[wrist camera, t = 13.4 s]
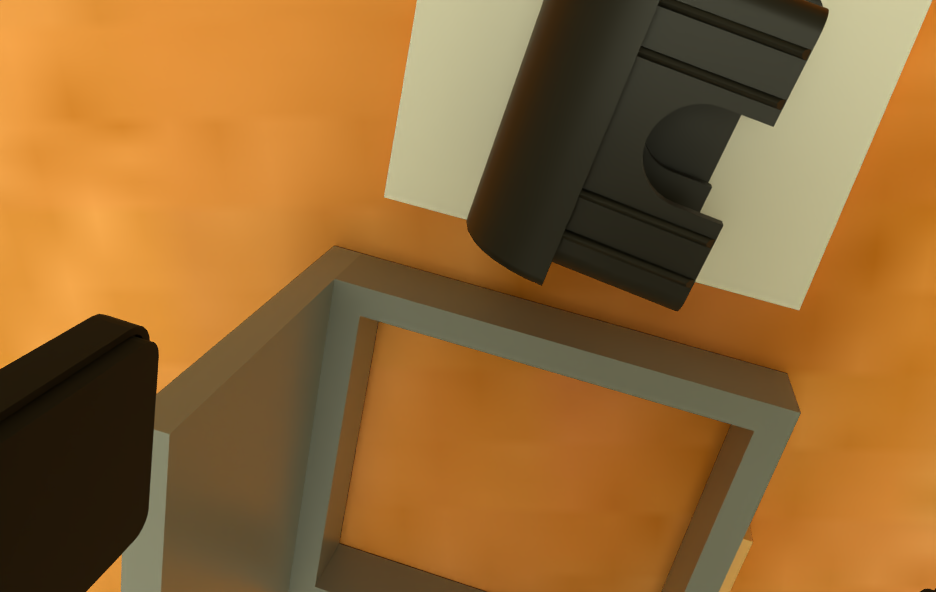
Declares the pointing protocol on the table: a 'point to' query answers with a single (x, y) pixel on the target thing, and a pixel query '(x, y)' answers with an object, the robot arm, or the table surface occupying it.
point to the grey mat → (740, 167)
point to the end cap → (632, 134)
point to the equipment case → (339, 416)
